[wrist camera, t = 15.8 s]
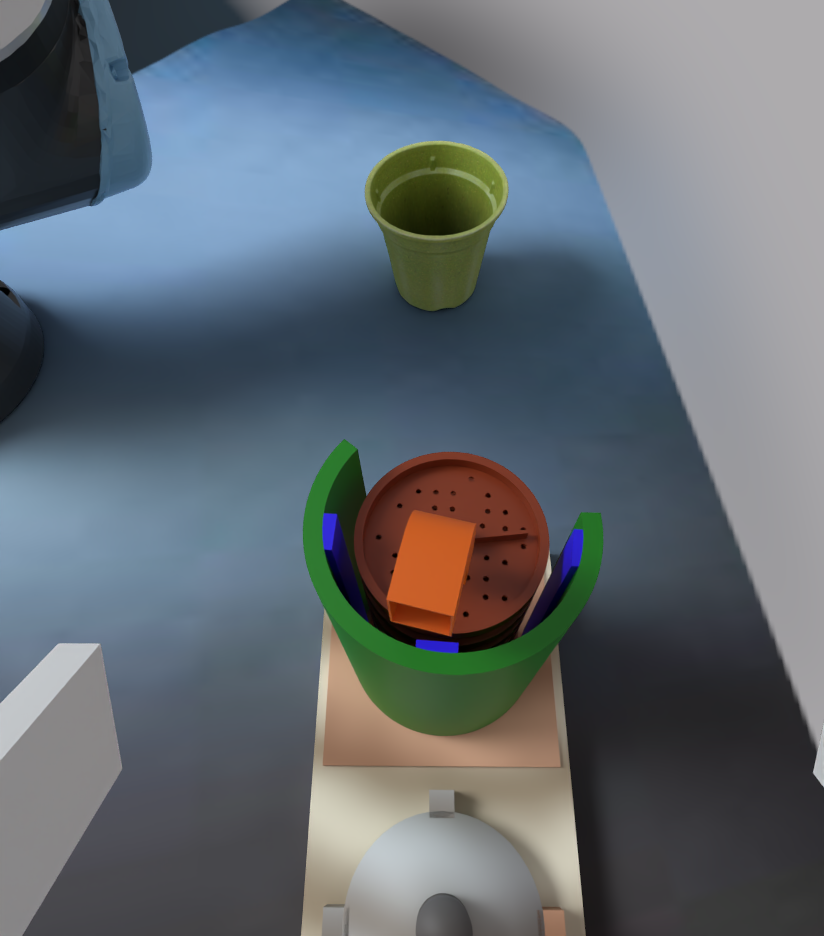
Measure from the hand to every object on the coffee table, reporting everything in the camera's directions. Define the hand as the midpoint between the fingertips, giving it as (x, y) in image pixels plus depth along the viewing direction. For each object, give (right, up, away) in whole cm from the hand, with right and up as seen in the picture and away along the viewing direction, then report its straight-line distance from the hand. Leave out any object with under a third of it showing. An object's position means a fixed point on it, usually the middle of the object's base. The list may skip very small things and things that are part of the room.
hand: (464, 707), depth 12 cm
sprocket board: (+1, -11, +23) cm, 25 cm away
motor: (+1, -6, +24) cm, 25 cm away
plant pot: (+1, +19, +39) cm, 43 cm away
